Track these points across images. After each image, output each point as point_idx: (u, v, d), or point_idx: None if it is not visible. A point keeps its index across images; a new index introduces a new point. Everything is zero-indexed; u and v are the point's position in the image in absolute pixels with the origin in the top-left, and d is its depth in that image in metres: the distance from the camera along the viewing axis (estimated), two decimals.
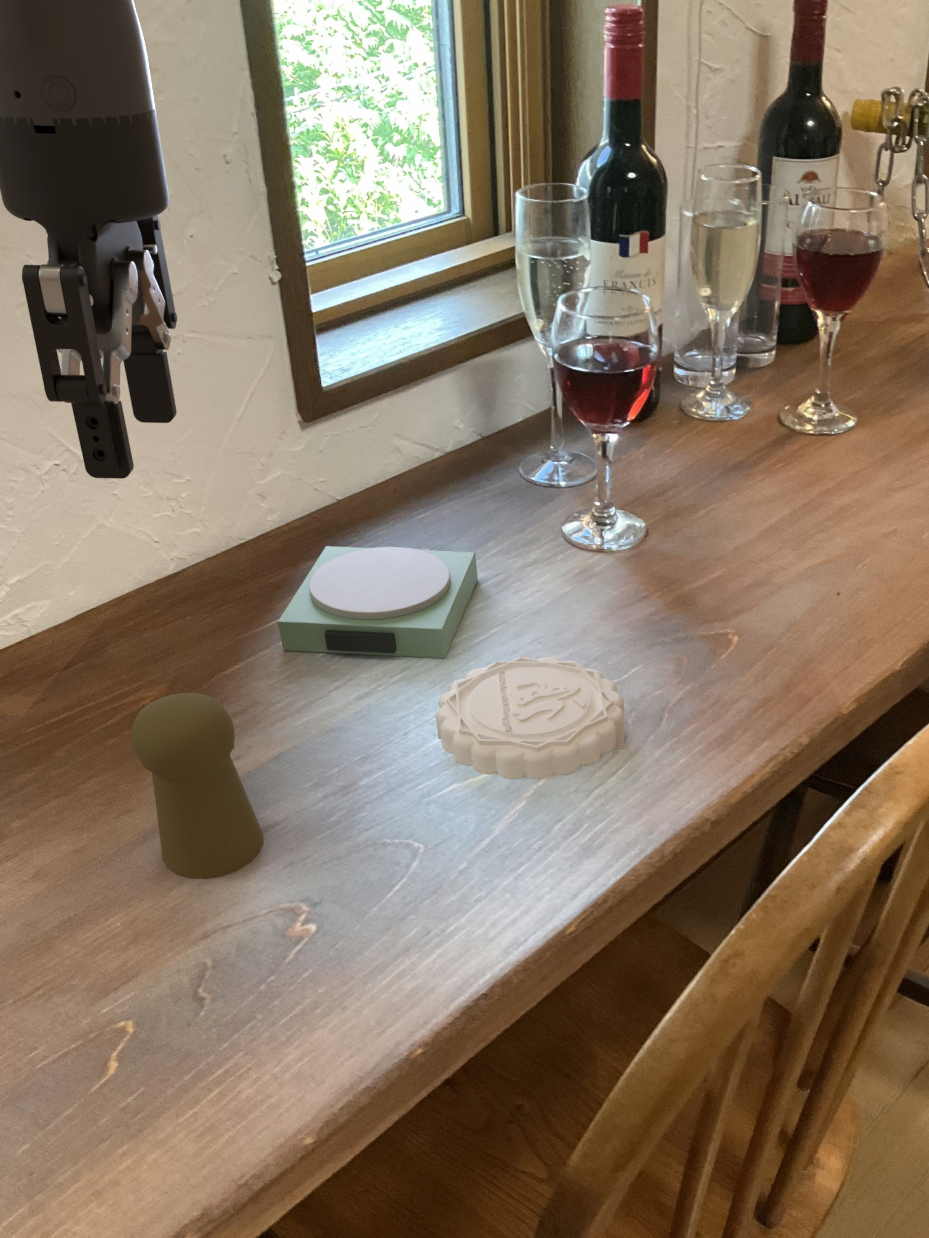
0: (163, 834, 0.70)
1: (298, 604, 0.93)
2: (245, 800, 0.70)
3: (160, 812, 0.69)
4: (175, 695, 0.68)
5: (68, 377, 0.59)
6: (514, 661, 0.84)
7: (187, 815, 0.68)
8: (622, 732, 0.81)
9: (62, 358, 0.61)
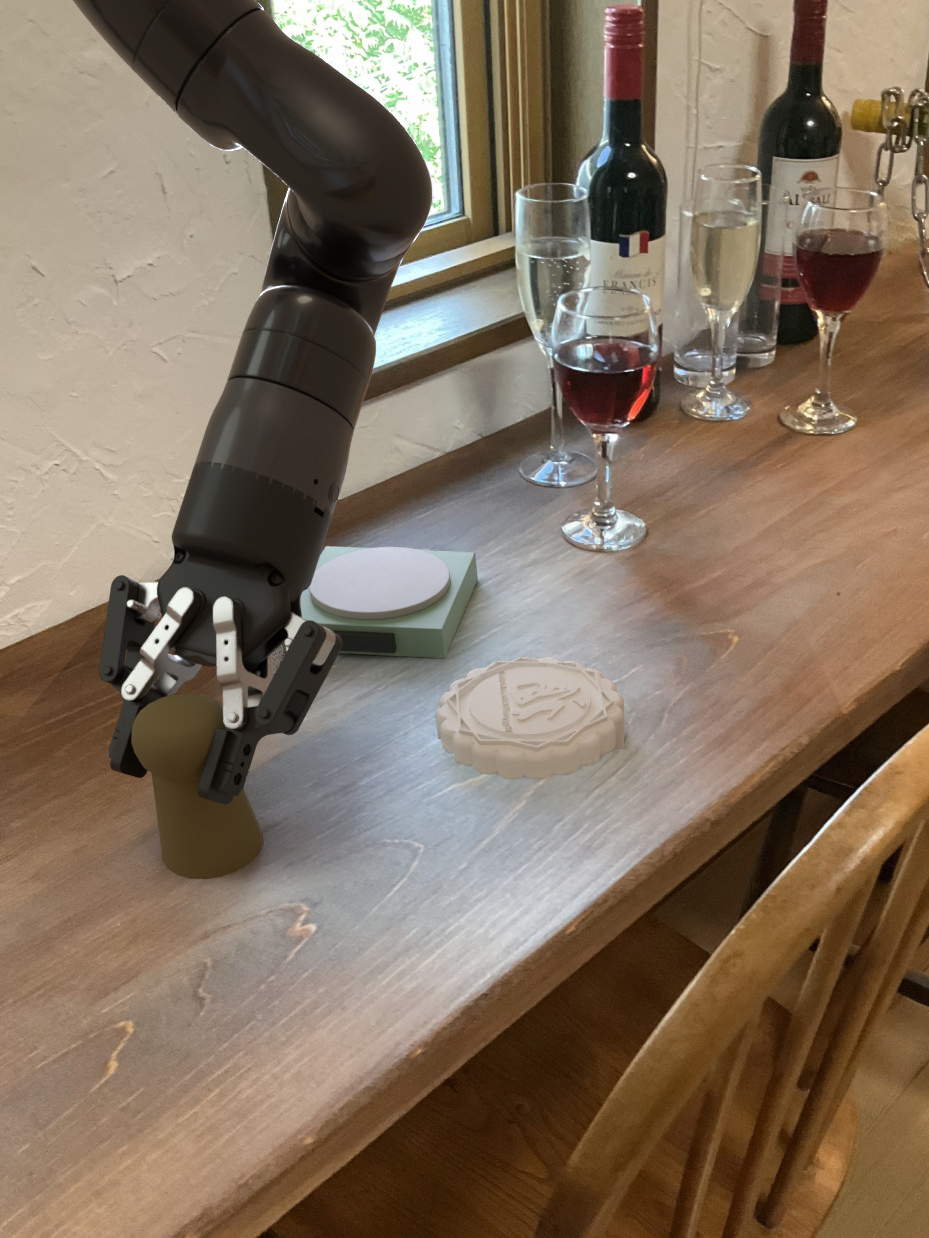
0: (163, 834, 0.70)
1: None
2: (245, 800, 0.70)
3: (160, 812, 0.69)
4: (175, 695, 0.68)
5: None
6: (514, 661, 0.84)
7: (187, 815, 0.68)
8: (622, 732, 0.81)
9: (244, 692, 0.66)
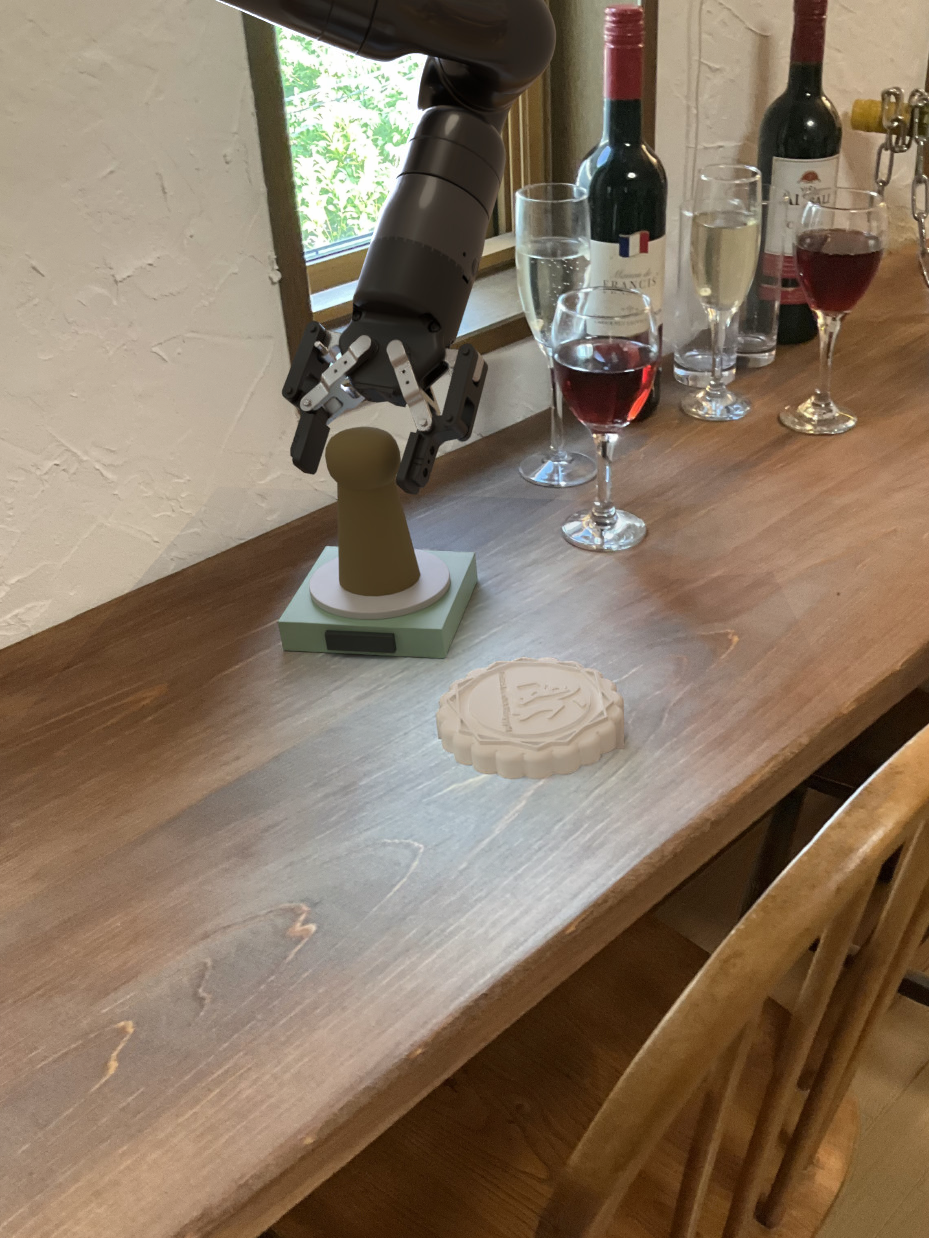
0: (343, 539, 0.91)
1: (298, 604, 0.93)
2: (404, 515, 0.92)
3: (342, 519, 0.90)
4: (356, 427, 0.89)
5: None
6: (514, 661, 0.84)
7: (365, 519, 0.89)
8: (622, 732, 0.81)
9: (426, 403, 0.86)
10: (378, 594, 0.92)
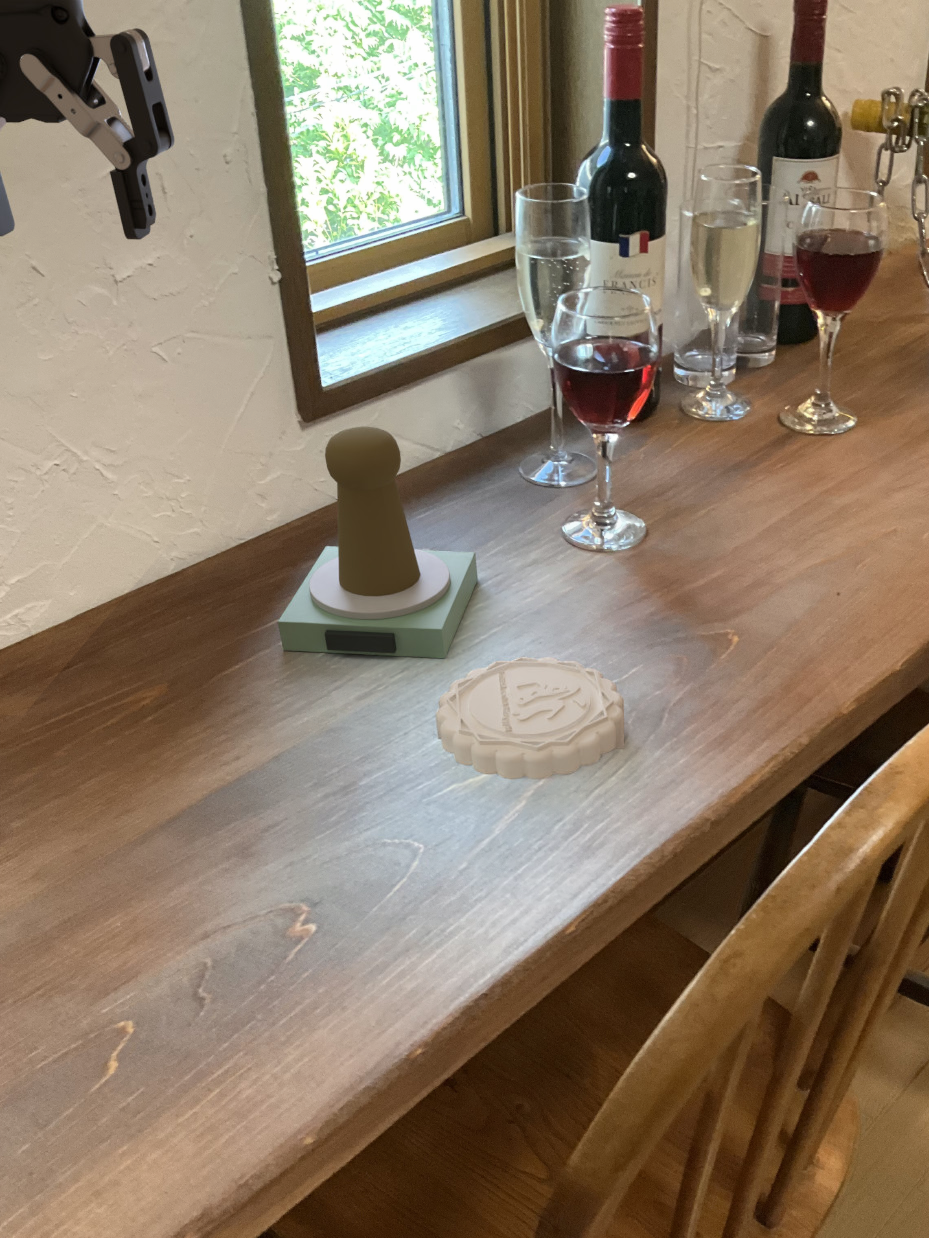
0: (343, 539, 0.91)
1: (298, 604, 0.93)
2: (404, 515, 0.92)
3: (342, 519, 0.90)
4: (356, 427, 0.89)
5: None
6: (514, 661, 0.84)
7: (365, 519, 0.89)
8: (622, 732, 0.81)
9: (109, 129, 0.71)
10: (378, 594, 0.92)
